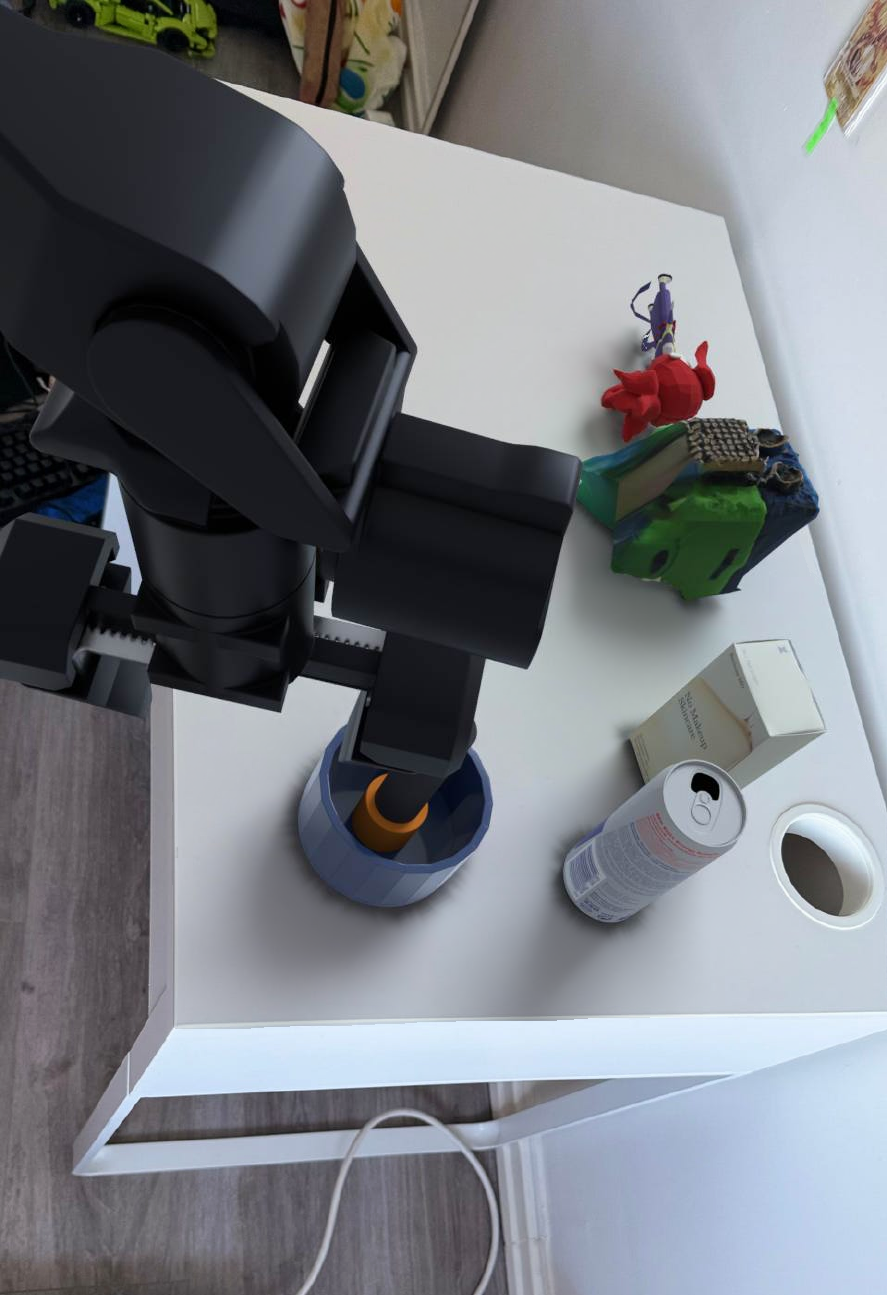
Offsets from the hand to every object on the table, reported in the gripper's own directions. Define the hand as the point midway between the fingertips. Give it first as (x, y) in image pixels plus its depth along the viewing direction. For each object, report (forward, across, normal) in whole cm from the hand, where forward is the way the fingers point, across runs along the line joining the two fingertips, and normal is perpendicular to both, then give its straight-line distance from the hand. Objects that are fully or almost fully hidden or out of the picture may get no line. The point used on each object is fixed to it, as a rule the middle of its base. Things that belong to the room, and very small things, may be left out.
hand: (246, 730), depth 49 cm
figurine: (+22, -19, -45) cm, 53 cm away
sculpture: (+20, -22, -30) cm, 42 cm away
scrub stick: (+13, -7, -2) cm, 15 cm away
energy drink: (+16, -21, -2) cm, 26 cm away
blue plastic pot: (+14, -7, -1) cm, 15 cm away
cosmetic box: (+18, -25, -11) cm, 32 cm away
